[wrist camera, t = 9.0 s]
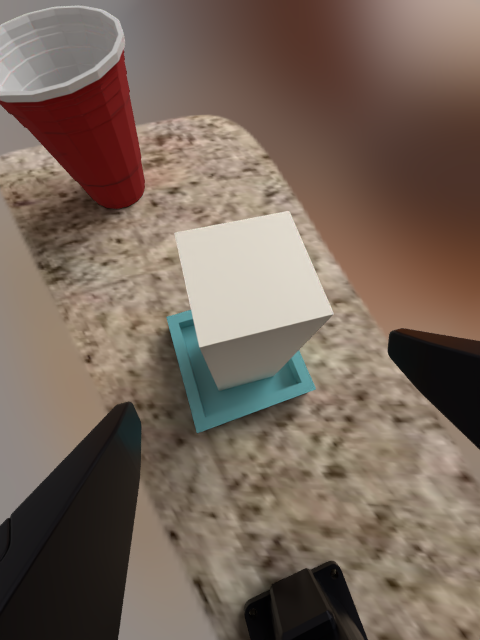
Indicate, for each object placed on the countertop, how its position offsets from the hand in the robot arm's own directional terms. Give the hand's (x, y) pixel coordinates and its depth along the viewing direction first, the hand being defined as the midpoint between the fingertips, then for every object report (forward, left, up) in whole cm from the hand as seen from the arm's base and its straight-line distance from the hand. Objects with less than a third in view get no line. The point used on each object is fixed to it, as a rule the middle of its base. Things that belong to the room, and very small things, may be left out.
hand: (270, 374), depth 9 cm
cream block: (+3, -1, -12) cm, 13 cm away
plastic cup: (+26, +6, -13) cm, 29 cm away
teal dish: (+4, 0, -13) cm, 13 cm away
